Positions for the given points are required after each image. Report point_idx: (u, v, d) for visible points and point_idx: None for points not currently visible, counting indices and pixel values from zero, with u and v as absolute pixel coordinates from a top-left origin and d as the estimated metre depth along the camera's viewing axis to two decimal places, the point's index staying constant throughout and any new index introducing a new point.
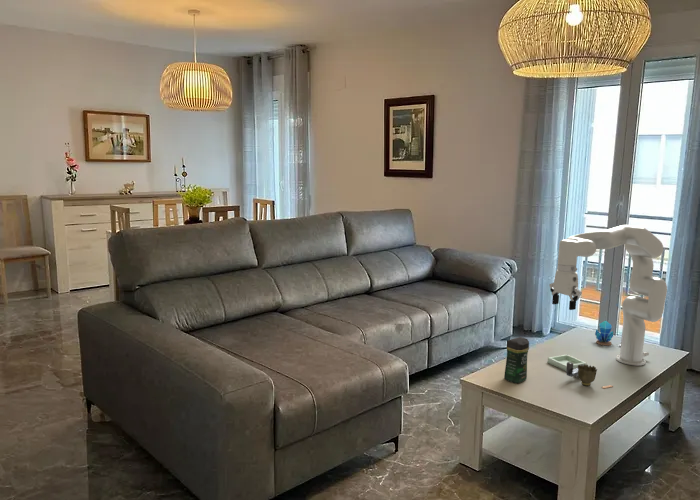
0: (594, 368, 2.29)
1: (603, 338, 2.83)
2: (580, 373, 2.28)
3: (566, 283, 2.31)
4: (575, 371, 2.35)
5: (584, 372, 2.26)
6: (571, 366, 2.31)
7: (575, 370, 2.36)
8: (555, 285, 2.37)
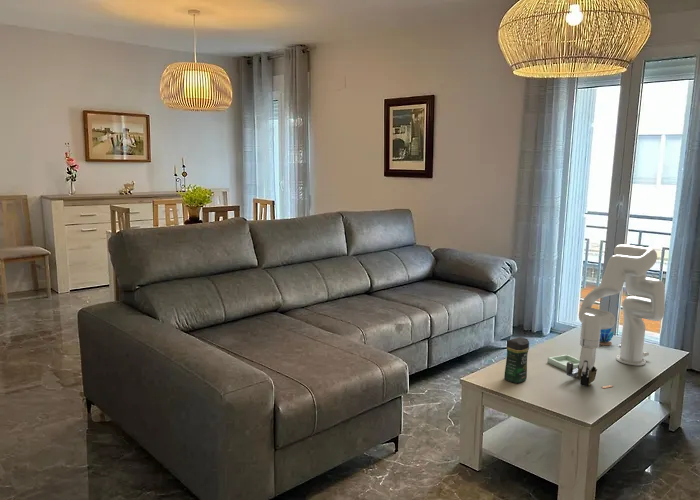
0: (594, 368, 2.29)
1: (603, 338, 2.83)
2: (580, 373, 2.28)
3: (595, 354, 2.28)
4: (575, 371, 2.35)
5: None
6: (571, 366, 2.31)
7: (575, 370, 2.36)
8: (592, 364, 2.24)
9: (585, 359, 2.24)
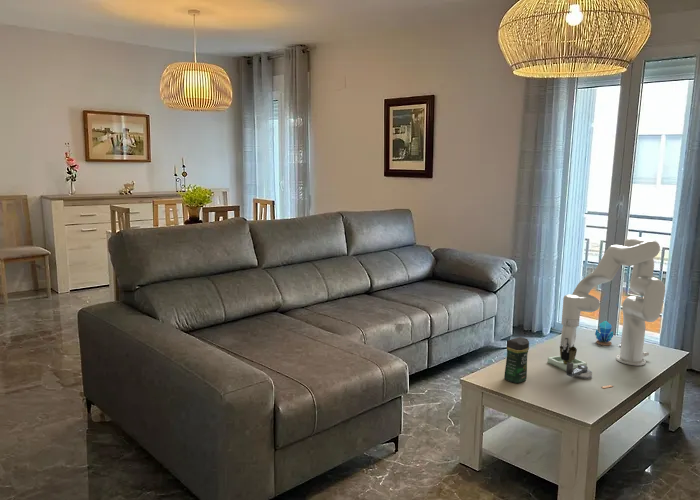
0: (574, 348, 2.52)
1: (603, 338, 2.83)
2: None
3: (575, 333, 2.51)
4: (575, 371, 2.35)
5: None
6: (571, 366, 2.31)
7: (575, 370, 2.36)
8: (572, 341, 2.46)
9: (566, 337, 2.46)
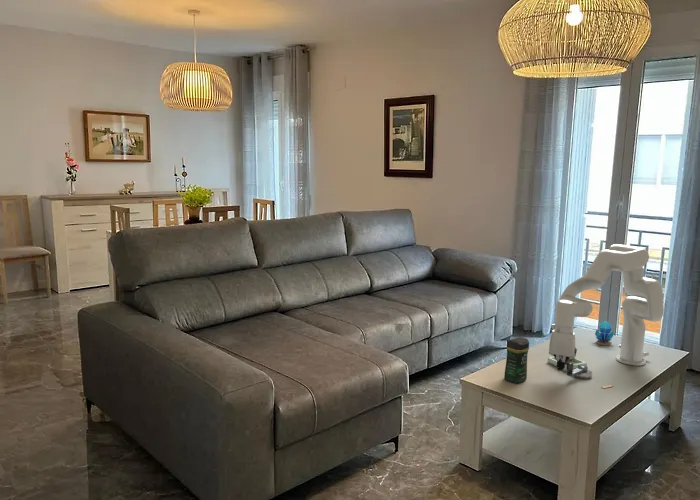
0: None
1: (603, 338, 2.83)
2: None
3: None
4: (575, 371, 2.35)
5: None
6: (571, 366, 2.31)
7: (575, 370, 2.36)
8: None
9: (574, 344, 2.30)
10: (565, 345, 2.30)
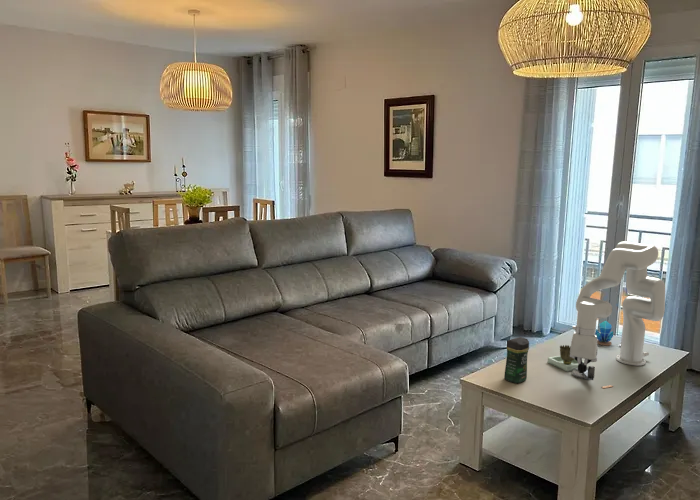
0: None
1: (603, 338, 2.83)
2: (562, 353, 2.50)
3: None
4: (588, 373, 2.33)
5: (565, 352, 2.49)
6: (594, 370, 2.27)
7: (586, 372, 2.34)
8: None
9: None
10: (587, 348, 2.25)
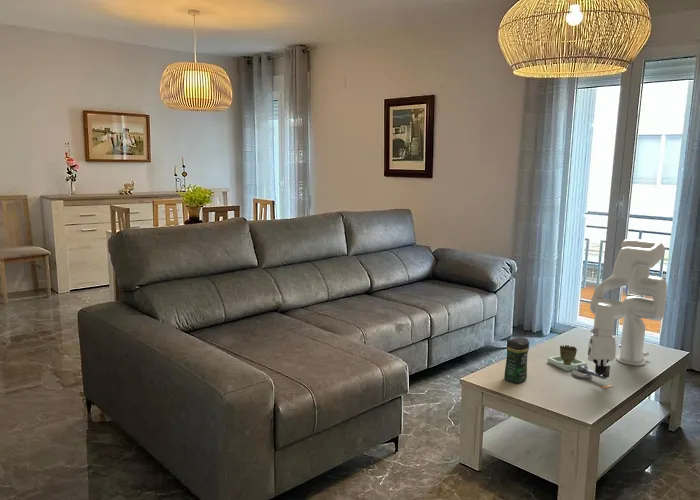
0: (574, 348, 2.52)
1: None
2: (562, 353, 2.50)
3: None
4: None
5: (565, 352, 2.49)
6: None
7: (594, 372, 2.35)
8: None
9: None
10: (609, 348, 2.25)
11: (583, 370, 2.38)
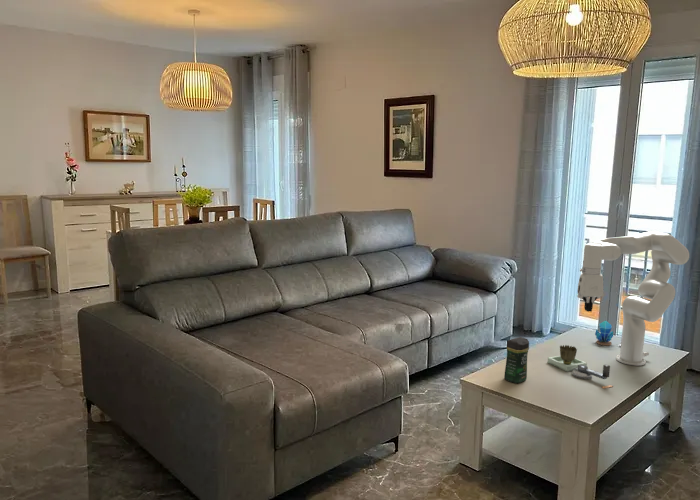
0: (574, 348, 2.52)
1: (603, 338, 2.83)
2: (562, 353, 2.50)
3: None
4: (597, 372, 2.34)
5: (565, 352, 2.49)
6: None
7: (594, 372, 2.35)
8: None
9: None
10: (597, 286, 2.41)
11: (583, 370, 2.38)
